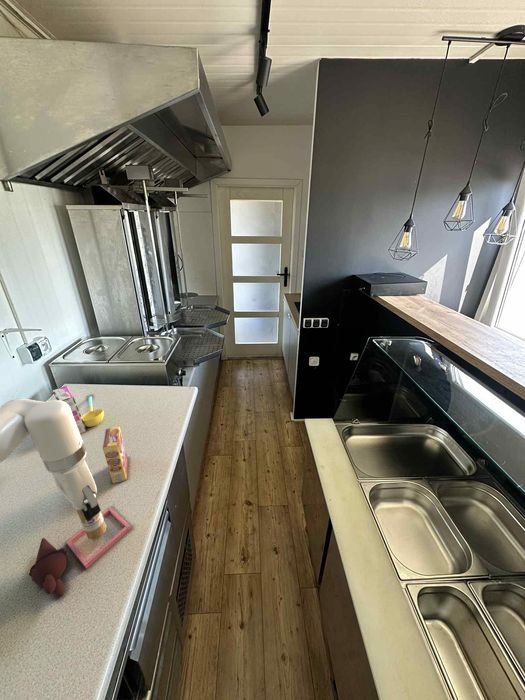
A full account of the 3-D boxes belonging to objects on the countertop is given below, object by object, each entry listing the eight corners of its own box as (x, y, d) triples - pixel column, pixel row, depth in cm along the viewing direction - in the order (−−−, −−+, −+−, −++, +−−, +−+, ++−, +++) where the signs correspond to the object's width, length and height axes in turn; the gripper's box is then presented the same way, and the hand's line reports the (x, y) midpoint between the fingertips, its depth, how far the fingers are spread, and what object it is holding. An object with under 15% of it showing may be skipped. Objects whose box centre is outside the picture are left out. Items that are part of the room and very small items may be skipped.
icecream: (16, 546, 67) (25, 608, 57) (50, 521, 70) (64, 576, 61) (35, 555, 71) (47, 614, 62) (66, 531, 74) (82, 584, 65)
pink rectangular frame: (87, 570, 68) (84, 566, 67) (68, 546, 73) (65, 541, 72) (131, 530, 76) (129, 525, 75) (111, 511, 81) (110, 506, 80)
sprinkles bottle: (90, 544, 70) (74, 508, 64) (84, 531, 73) (68, 496, 67) (110, 530, 73) (96, 495, 67) (103, 519, 76) (90, 484, 70)
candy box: (128, 481, 90) (117, 444, 83) (113, 485, 89) (100, 448, 82) (129, 460, 98) (119, 425, 91) (115, 463, 96) (104, 428, 90)
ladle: (82, 434, 108) (76, 421, 106) (84, 410, 130) (79, 399, 129) (107, 424, 112) (102, 411, 110) (105, 402, 134) (100, 391, 133)
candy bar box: (88, 431, 110) (73, 396, 103) (74, 437, 107) (57, 402, 100) (80, 417, 118) (66, 384, 110) (67, 423, 115) (51, 390, 107)
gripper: (28, 448, 63) (55, 503, 71) (64, 486, 54) (90, 543, 62) (65, 429, 68) (86, 481, 76) (102, 460, 60) (122, 516, 68)
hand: (87, 509), depth 69 cm, fingers closed on sprinkles bottle, 4 cm apart
